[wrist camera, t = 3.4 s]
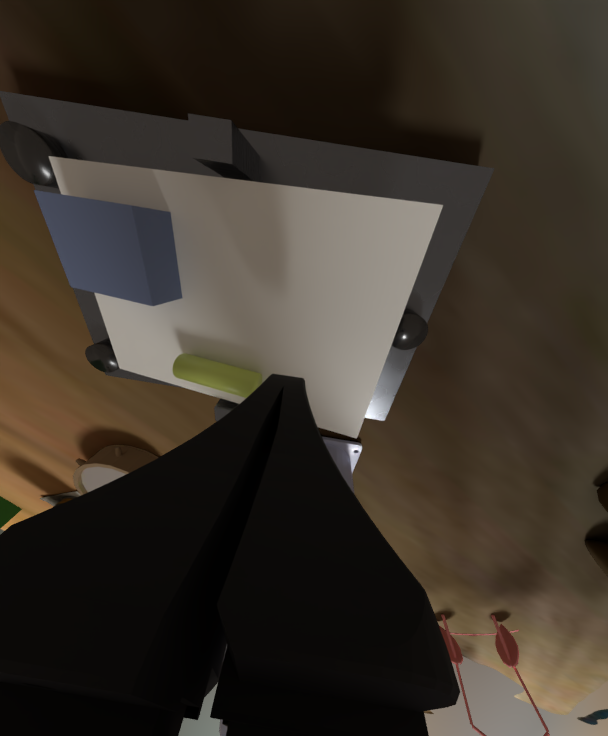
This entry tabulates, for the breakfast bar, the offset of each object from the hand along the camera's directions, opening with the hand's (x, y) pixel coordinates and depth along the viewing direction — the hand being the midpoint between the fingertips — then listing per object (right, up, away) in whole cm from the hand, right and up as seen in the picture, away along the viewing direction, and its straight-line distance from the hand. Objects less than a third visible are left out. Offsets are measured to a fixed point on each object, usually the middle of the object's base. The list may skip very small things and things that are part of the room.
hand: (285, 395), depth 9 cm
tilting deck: (-4, +4, +4) cm, 7 cm away
